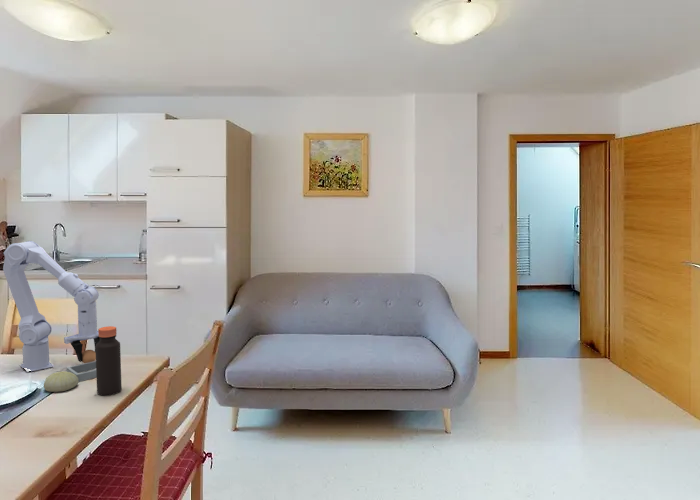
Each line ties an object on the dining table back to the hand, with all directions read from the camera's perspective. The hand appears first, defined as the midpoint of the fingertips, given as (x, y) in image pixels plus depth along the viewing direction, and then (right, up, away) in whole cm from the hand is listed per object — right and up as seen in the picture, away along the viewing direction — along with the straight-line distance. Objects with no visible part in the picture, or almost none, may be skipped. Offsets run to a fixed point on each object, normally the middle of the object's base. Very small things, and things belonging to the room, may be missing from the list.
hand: (88, 359), depth 166 cm
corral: (+4, -3, -8) cm, 9 cm away
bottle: (+18, -5, -21) cm, 29 cm away
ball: (0, -2, 0) cm, 2 cm away
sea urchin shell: (+2, -5, -19) cm, 20 cm away
